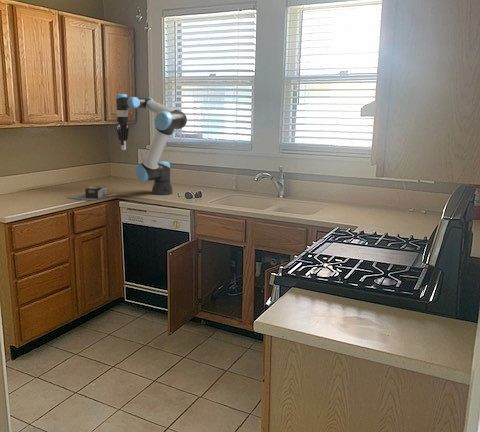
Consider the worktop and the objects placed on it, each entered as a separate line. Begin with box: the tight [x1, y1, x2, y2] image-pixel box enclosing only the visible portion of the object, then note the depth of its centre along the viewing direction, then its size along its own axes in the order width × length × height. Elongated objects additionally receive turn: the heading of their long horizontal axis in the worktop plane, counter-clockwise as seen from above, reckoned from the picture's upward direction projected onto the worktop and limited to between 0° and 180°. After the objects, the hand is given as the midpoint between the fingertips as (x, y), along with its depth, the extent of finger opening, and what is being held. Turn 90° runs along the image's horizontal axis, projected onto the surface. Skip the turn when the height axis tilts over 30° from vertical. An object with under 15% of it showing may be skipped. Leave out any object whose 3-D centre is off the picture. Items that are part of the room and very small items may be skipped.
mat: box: [67, 192, 109, 202], centre depth 324 cm, size 20×18×1 cm
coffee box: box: [84, 184, 108, 198], centre depth 326 cm, size 9×6×16 cm
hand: (123, 149), depth 342 cm, fingers closed
